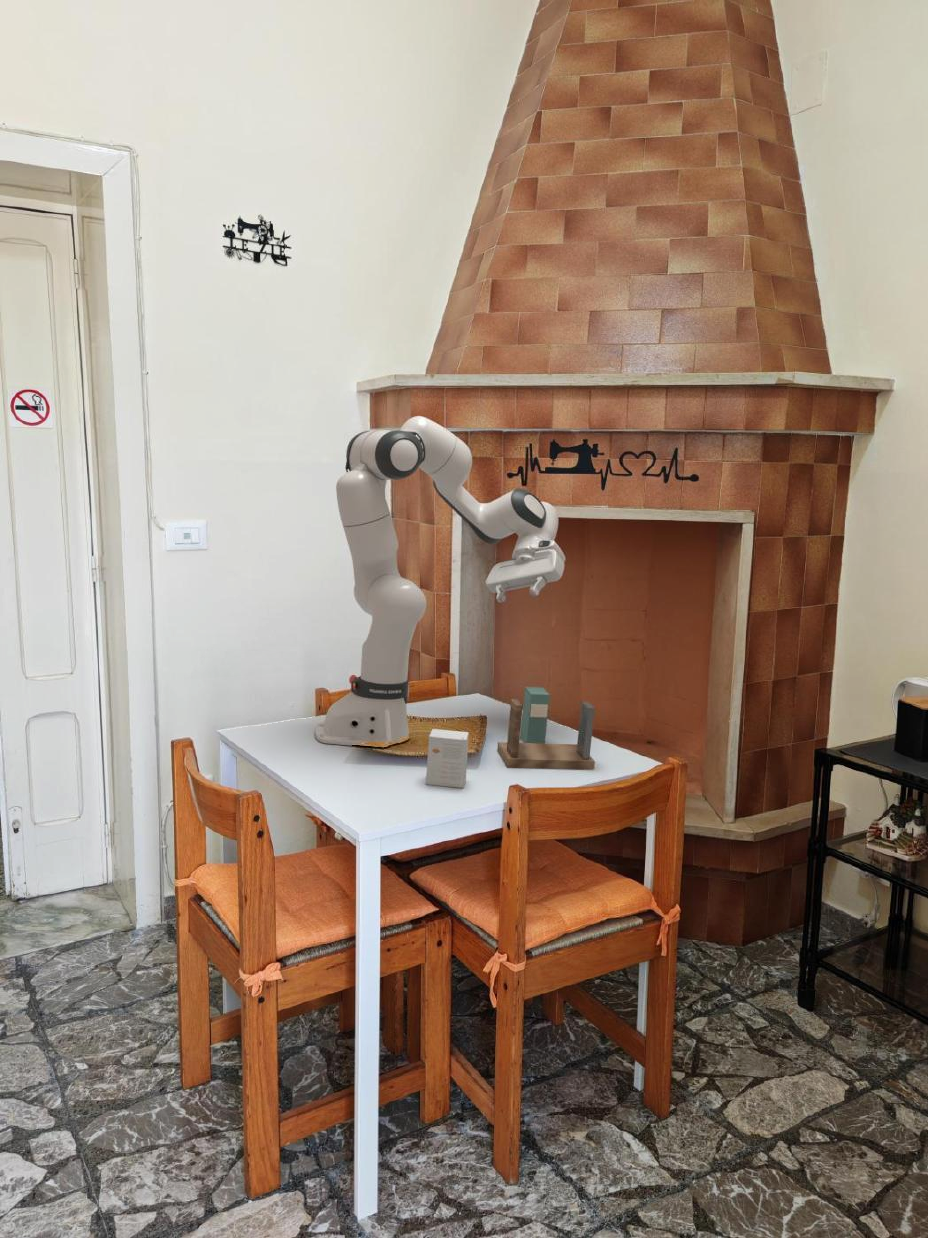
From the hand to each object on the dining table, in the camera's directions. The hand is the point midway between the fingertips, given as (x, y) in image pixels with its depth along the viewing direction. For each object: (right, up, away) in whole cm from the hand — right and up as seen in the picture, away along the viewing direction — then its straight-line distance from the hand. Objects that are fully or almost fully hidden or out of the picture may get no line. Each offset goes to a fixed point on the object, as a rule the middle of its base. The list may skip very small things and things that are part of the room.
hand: (516, 597), depth 221 cm
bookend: (+15, -36, -9) cm, 40 cm away
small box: (-16, -40, -28) cm, 51 cm away
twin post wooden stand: (+6, -38, -8) cm, 39 cm away
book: (+4, -35, +4) cm, 36 cm away
